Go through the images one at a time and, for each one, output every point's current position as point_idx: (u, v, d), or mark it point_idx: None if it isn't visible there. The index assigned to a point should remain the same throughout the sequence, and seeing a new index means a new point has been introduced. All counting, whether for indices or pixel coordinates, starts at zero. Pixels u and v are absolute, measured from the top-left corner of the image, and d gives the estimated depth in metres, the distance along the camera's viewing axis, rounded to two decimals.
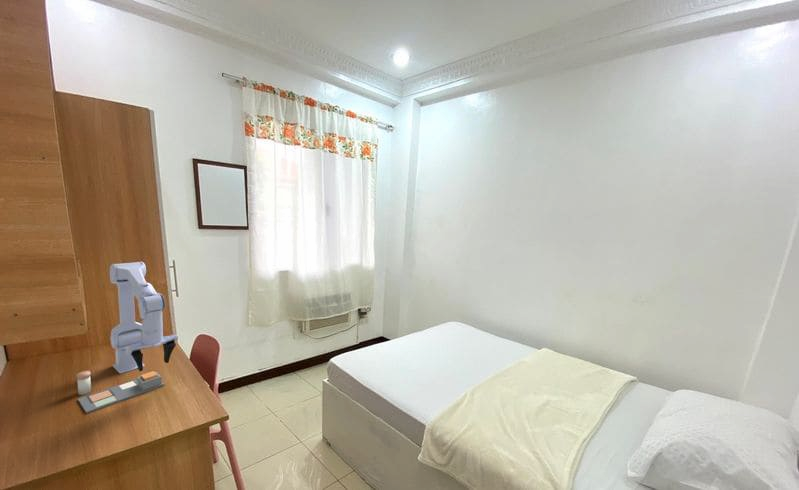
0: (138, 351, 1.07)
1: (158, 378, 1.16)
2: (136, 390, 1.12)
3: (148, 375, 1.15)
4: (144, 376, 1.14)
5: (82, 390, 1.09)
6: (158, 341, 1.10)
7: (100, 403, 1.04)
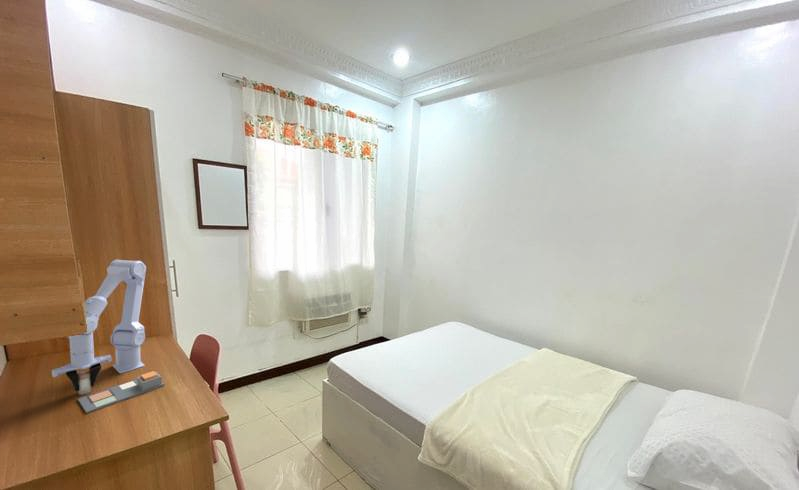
0: (73, 371, 1.07)
1: (158, 378, 1.16)
2: (136, 390, 1.12)
3: (148, 375, 1.15)
4: (144, 376, 1.14)
5: (82, 390, 1.09)
6: (87, 363, 1.09)
7: (100, 403, 1.04)
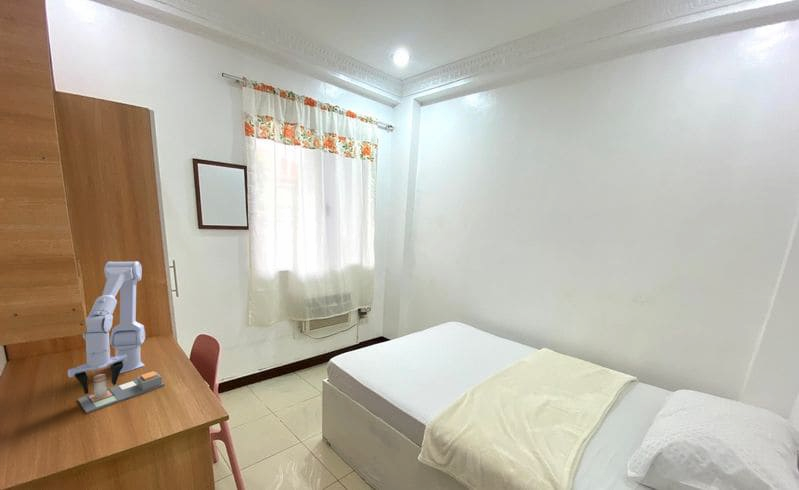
0: (83, 373, 1.03)
1: (158, 378, 1.16)
2: (136, 390, 1.12)
3: (148, 375, 1.15)
4: (144, 376, 1.14)
5: (98, 394, 1.07)
6: (104, 363, 1.06)
7: (100, 403, 1.04)
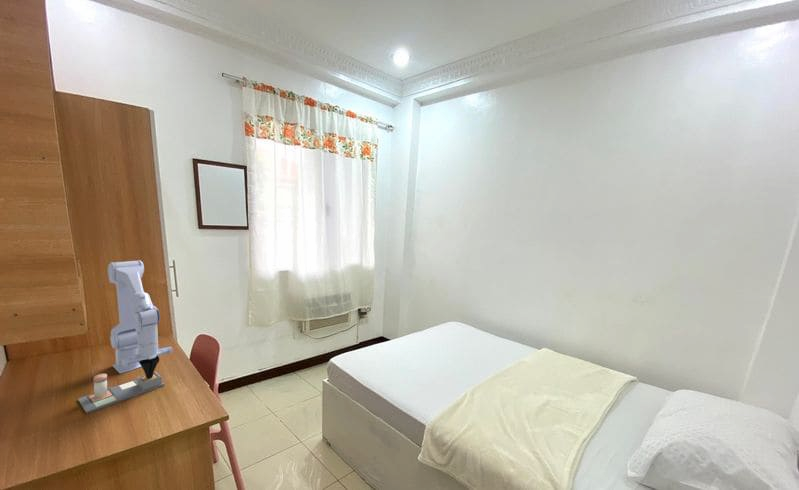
0: (146, 360, 1.14)
1: (158, 378, 1.16)
2: (136, 390, 1.12)
3: None
4: (144, 379, 1.14)
5: (99, 393, 1.07)
6: (153, 353, 1.14)
7: (100, 403, 1.04)
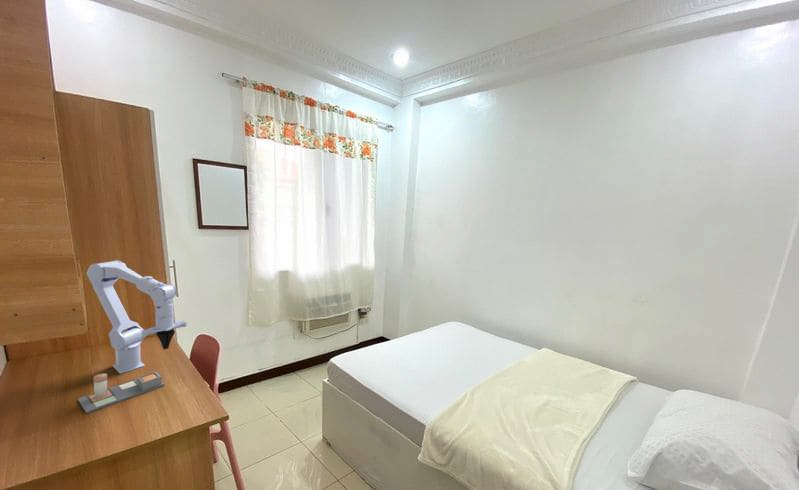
0: (163, 332, 1.24)
1: (158, 378, 1.16)
2: (136, 390, 1.12)
3: (148, 378, 1.15)
4: (144, 379, 1.14)
5: (99, 393, 1.07)
6: (169, 326, 1.24)
7: (100, 403, 1.04)
